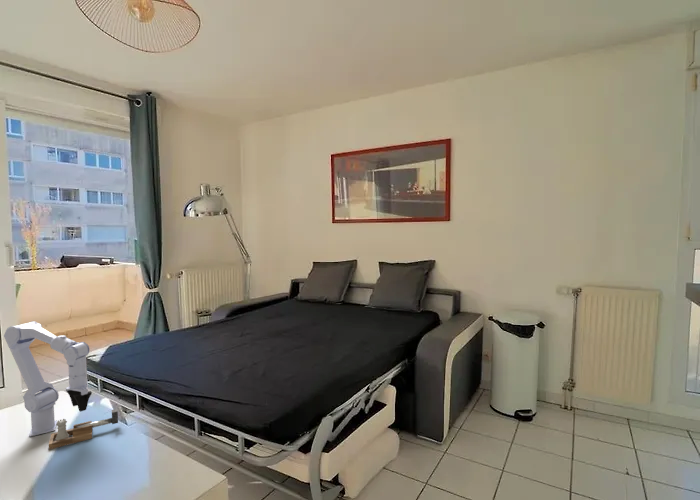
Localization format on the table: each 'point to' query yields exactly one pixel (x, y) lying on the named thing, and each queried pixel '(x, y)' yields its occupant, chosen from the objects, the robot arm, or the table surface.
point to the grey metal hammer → (104, 422)
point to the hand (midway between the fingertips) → (79, 407)
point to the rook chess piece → (61, 430)
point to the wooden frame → (77, 433)
